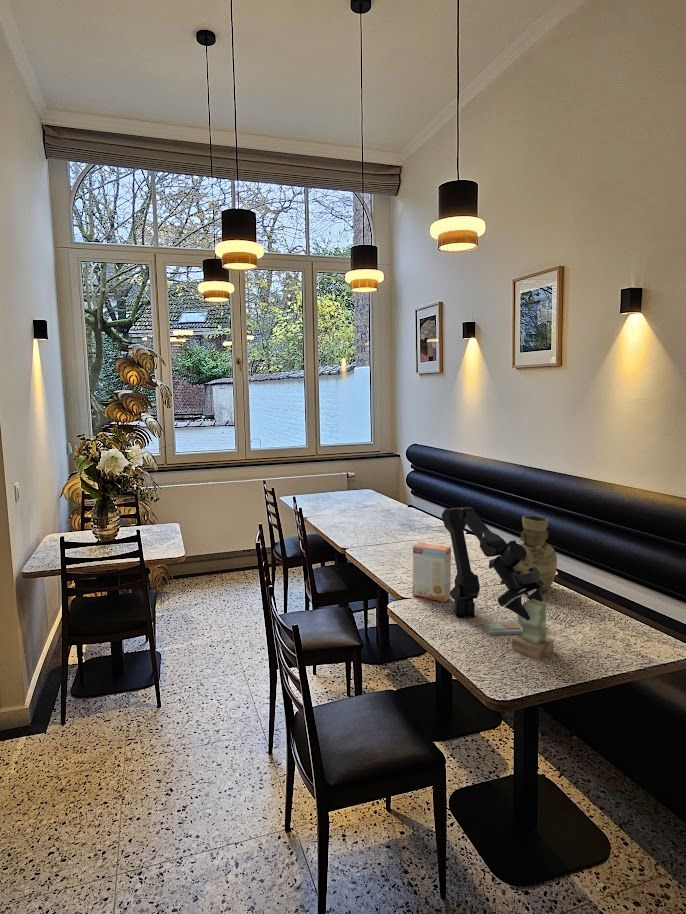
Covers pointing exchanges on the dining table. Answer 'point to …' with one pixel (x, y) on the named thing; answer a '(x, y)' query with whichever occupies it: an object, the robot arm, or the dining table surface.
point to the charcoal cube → (520, 620)
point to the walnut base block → (532, 647)
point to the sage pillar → (535, 621)
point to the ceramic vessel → (538, 550)
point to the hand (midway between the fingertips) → (537, 616)
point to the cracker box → (432, 571)
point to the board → (502, 628)
